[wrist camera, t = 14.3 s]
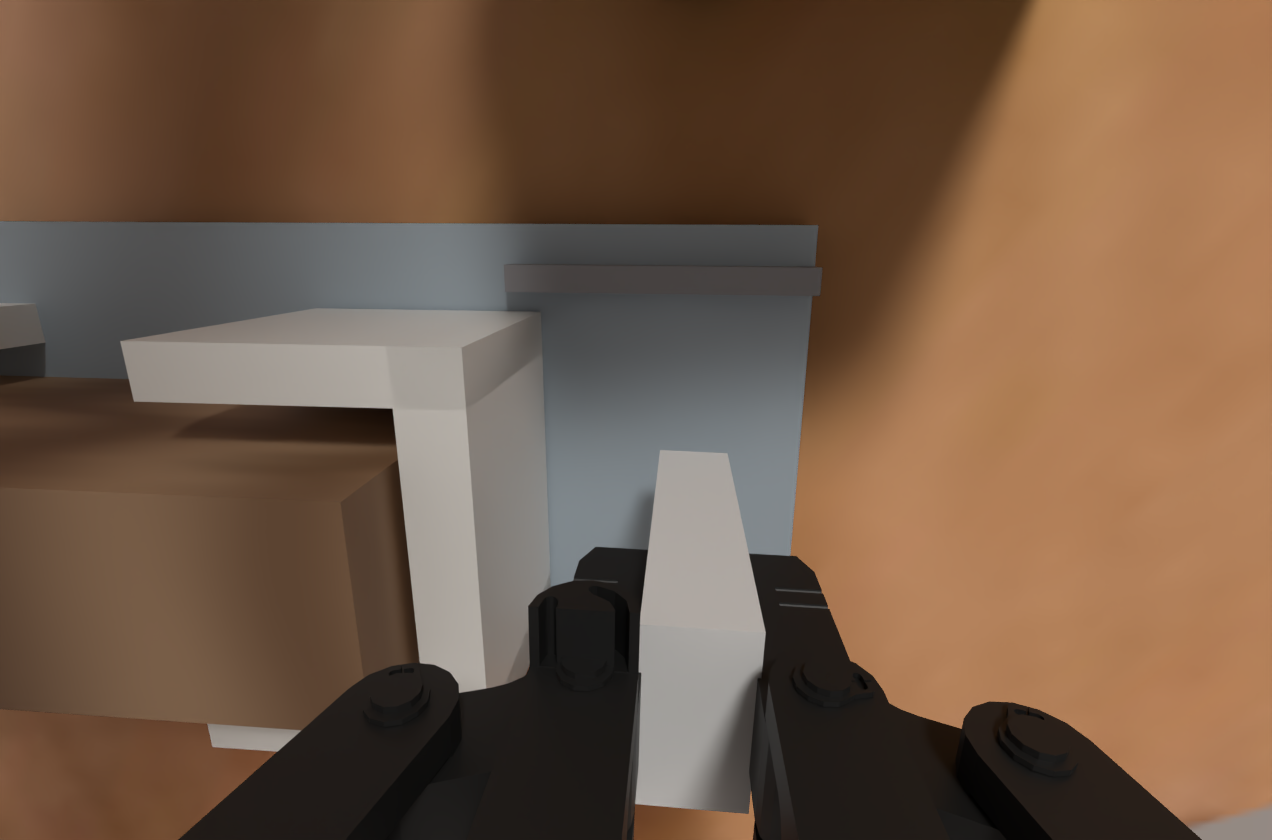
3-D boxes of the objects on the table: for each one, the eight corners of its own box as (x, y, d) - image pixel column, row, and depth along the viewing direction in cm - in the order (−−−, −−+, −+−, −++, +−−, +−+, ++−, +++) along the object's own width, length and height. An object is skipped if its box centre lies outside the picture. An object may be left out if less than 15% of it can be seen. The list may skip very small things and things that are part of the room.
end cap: (316, 308, 15) (120, 341, 10) (541, 311, 15) (461, 347, 9) (355, 595, 17) (212, 746, 12) (551, 605, 17) (491, 766, 12)
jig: (-170, 221, 16) (-693, 206, 10) (809, 226, 15) (903, 211, 8) (-37, 610, 20) (-370, 778, 13) (775, 654, 18) (823, 872, 12)
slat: (17, 512, 17) (-403, 680, 11) (-23, 374, 16) (-522, 464, 10) (499, 534, 16) (371, 735, 10) (491, 389, 15) (340, 502, 9)
